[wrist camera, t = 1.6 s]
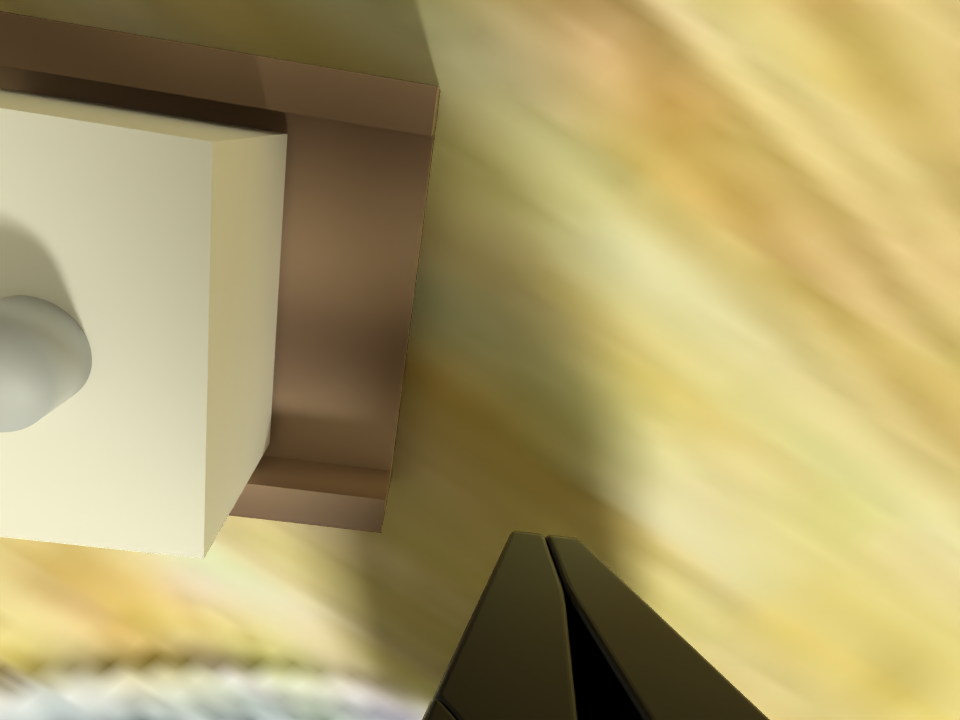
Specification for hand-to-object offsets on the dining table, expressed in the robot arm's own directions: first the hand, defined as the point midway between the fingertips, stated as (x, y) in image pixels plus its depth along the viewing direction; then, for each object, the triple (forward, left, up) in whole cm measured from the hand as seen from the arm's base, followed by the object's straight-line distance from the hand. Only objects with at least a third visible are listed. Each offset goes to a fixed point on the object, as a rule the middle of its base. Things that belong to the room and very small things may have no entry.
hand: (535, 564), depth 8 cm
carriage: (0, +9, -9) cm, 13 cm away
